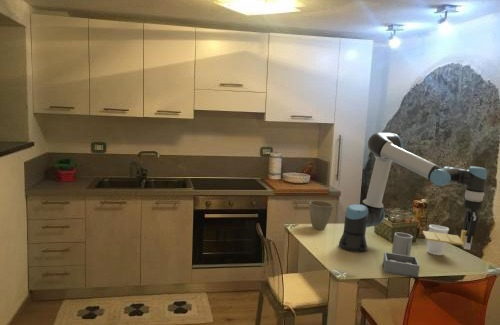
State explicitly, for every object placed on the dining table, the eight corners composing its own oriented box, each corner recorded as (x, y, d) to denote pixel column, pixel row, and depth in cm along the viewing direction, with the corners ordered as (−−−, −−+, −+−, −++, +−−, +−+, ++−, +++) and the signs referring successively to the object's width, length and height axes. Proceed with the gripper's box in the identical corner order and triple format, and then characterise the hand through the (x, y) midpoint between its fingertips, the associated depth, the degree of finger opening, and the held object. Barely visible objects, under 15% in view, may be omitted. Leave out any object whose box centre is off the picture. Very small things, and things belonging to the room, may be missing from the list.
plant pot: (306, 230, 256) (309, 204, 254) (307, 223, 271) (309, 199, 269) (330, 233, 254) (333, 207, 252) (330, 226, 268) (333, 202, 266)
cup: (396, 252, 228) (399, 231, 227) (412, 257, 222) (415, 236, 220) (388, 255, 222) (391, 234, 220) (404, 261, 216) (407, 239, 214)
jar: (447, 257, 227) (451, 231, 225) (427, 254, 229) (431, 228, 226) (442, 251, 237) (446, 225, 235) (423, 248, 239) (427, 223, 237)
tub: (384, 272, 198) (386, 260, 197) (382, 263, 210) (384, 252, 209) (417, 278, 195) (419, 265, 194) (414, 268, 206) (416, 257, 206)
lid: (426, 240, 196) (428, 229, 195) (422, 232, 209) (423, 222, 208) (474, 246, 191) (476, 236, 190) (467, 238, 204) (468, 228, 203)
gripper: (487, 204, 186) (479, 254, 190) (477, 197, 201) (470, 244, 205) (469, 202, 188) (461, 252, 191) (460, 195, 203) (453, 241, 207)
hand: (466, 247), depth 198 cm, fingers closed on lid, 3 cm apart
